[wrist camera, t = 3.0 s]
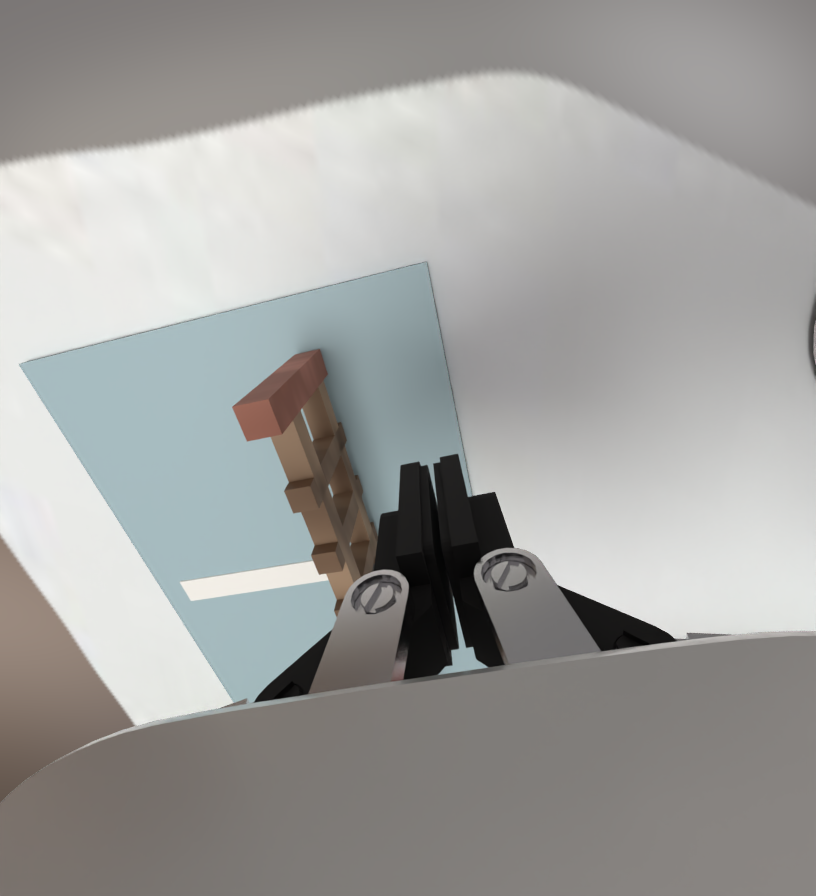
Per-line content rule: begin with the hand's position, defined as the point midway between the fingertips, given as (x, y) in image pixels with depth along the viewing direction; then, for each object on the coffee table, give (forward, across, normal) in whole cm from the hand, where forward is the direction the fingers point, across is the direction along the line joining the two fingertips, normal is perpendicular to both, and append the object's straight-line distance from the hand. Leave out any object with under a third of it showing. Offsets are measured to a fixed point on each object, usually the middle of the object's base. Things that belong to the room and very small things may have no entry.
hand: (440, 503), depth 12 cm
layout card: (+10, +9, +8) cm, 15 cm away
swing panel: (+9, +5, +2) cm, 10 cm away
